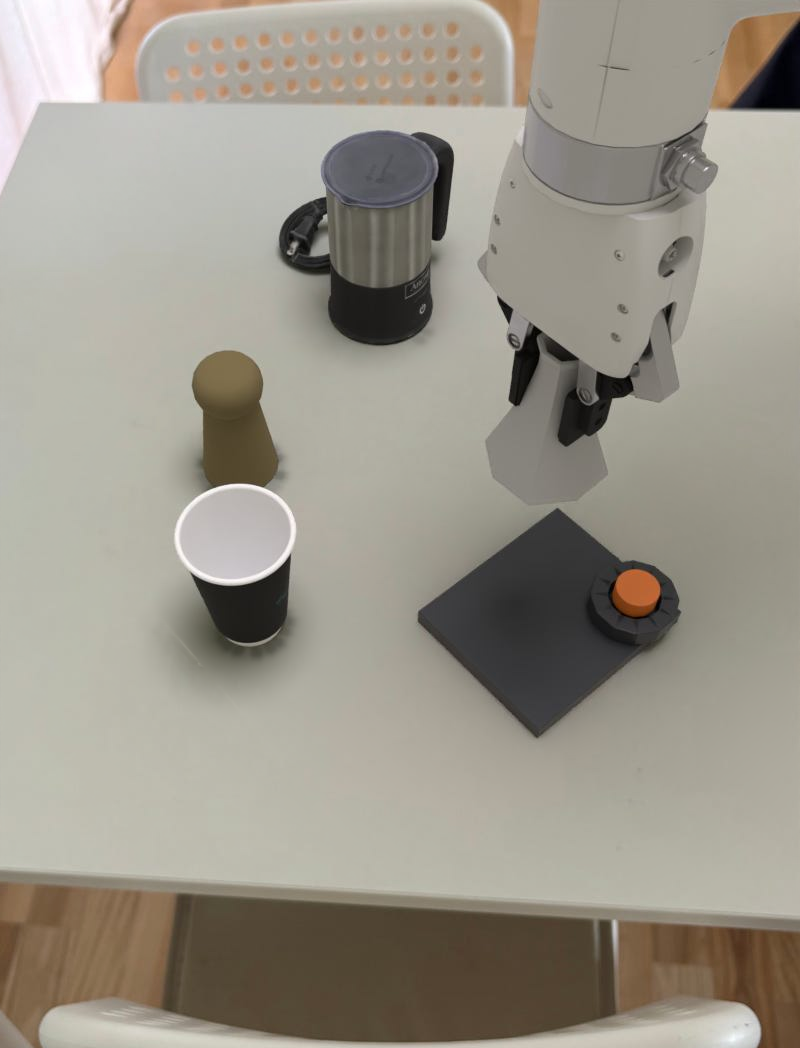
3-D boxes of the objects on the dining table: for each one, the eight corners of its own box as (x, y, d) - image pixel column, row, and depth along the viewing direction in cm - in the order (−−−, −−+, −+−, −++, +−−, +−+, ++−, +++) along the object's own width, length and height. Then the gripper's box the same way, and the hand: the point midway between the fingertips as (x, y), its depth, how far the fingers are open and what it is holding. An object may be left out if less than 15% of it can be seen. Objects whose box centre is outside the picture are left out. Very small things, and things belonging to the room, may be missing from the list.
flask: (464, 438, 68) (476, 320, 60) (567, 400, 70) (592, 279, 61) (521, 525, 64) (542, 411, 56) (628, 483, 66) (664, 366, 57)
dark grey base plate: (559, 514, 84) (564, 491, 81) (686, 622, 78) (696, 600, 76) (417, 621, 79) (418, 599, 77) (541, 743, 74) (547, 724, 71)
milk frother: (415, 356, 94) (421, 214, 81) (242, 320, 97) (222, 178, 85) (458, 247, 101) (469, 102, 89) (296, 217, 104) (285, 72, 92)
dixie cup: (325, 634, 79) (318, 548, 70) (226, 685, 77) (206, 603, 68) (273, 555, 83) (260, 464, 74) (178, 602, 81) (153, 514, 72)
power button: (632, 573, 78) (636, 561, 76) (665, 601, 76) (670, 589, 75) (602, 597, 77) (606, 585, 75) (635, 625, 75) (639, 613, 74)
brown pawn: (235, 506, 86) (217, 413, 77) (188, 462, 88) (165, 366, 79) (294, 464, 88) (284, 368, 79) (246, 422, 90) (231, 325, 81)
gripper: (822, 185, 45) (711, 463, 61) (537, 21, 53) (502, 306, 68) (701, 268, 43) (617, 536, 58) (420, 84, 51) (411, 364, 66)
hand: (555, 409), depth 63 cm, fingers closed on flask, 3 cm apart
